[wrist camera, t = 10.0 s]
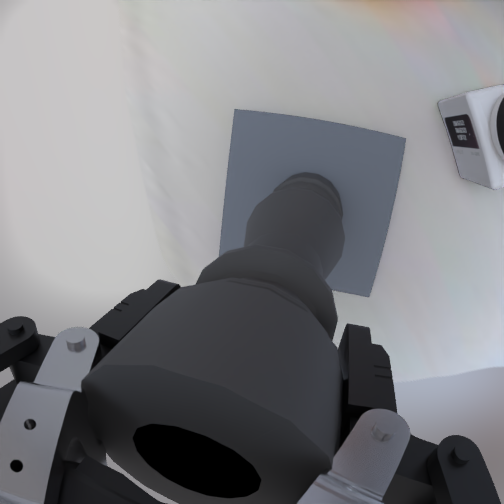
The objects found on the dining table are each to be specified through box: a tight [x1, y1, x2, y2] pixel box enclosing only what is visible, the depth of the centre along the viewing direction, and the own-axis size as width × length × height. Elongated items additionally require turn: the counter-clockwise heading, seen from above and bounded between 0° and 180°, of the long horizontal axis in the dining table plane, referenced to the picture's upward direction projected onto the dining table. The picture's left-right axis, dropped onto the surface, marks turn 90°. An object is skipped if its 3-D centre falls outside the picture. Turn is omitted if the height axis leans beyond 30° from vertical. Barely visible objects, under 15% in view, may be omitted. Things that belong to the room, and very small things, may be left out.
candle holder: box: [81, 172, 345, 504], centre depth 17 cm, size 6×6×25 cm
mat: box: [219, 109, 406, 297], centre depth 30 cm, size 16×16×1 cm
